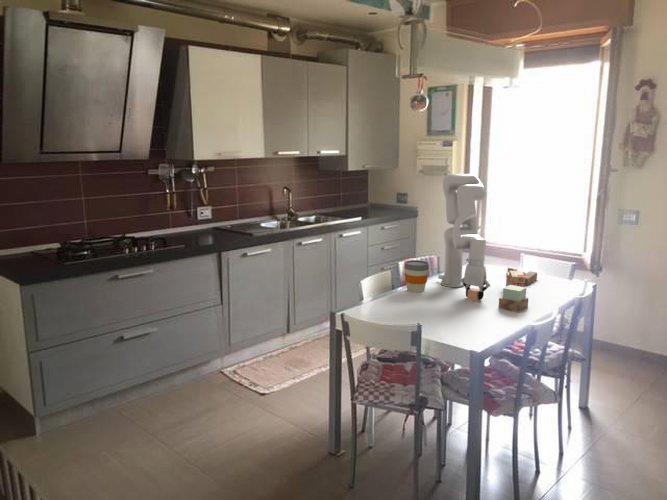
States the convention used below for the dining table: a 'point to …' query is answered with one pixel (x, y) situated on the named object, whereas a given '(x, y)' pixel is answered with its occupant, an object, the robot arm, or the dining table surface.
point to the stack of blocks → (515, 278)
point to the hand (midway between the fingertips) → (474, 297)
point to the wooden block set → (527, 276)
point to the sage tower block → (514, 293)
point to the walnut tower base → (513, 304)
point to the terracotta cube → (473, 294)
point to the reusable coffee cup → (416, 275)
